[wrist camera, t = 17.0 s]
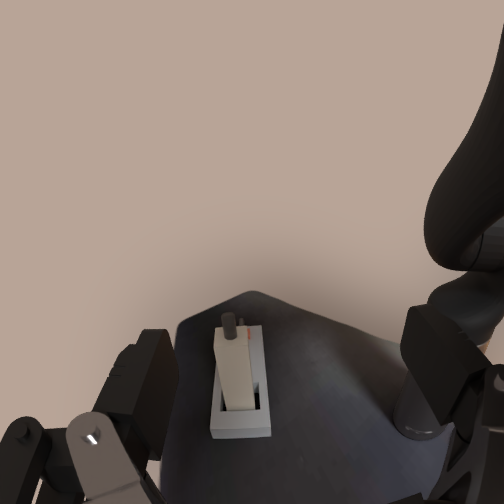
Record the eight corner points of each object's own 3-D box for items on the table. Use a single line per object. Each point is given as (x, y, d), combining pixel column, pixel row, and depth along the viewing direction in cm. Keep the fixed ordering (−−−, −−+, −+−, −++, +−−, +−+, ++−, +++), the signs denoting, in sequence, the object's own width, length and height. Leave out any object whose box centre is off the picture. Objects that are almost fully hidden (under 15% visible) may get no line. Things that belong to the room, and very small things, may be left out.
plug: (228, 398, 42) (212, 308, 36) (254, 396, 42) (244, 305, 36) (228, 417, 38) (209, 326, 32) (255, 415, 39) (245, 324, 32)
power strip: (223, 324, 62) (221, 310, 61) (260, 321, 62) (259, 308, 61) (213, 438, 35) (208, 425, 34) (271, 436, 35) (270, 423, 34)
